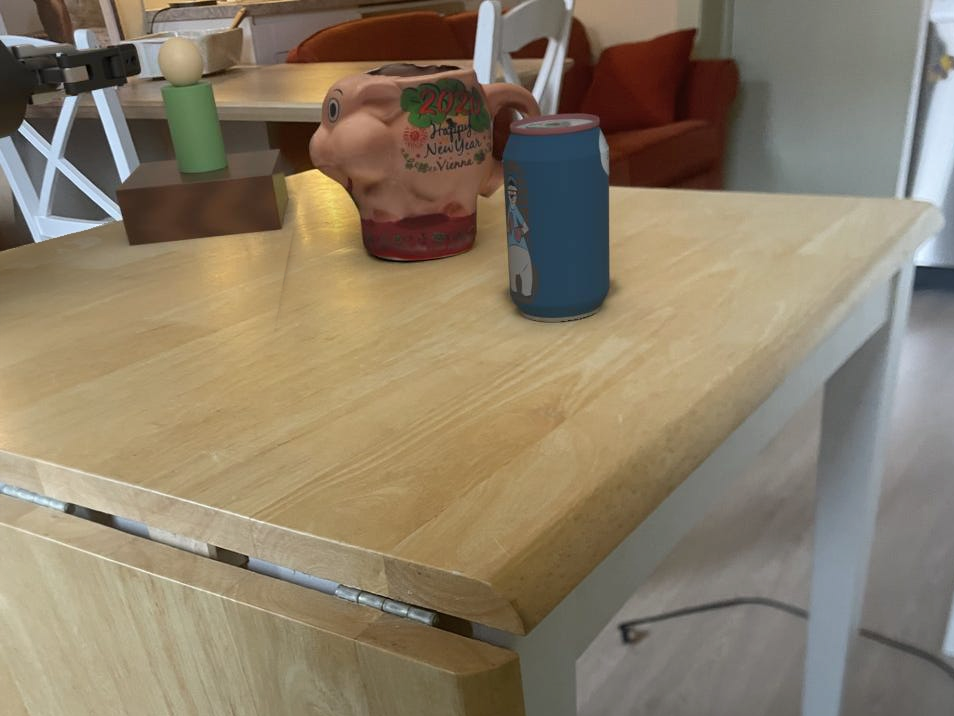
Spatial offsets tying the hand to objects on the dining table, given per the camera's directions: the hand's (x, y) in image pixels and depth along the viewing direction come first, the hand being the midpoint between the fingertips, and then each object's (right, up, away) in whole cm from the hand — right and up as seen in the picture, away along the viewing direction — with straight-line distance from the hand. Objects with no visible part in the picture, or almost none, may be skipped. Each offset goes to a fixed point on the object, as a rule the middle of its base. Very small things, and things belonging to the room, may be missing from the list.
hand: (94, 60), depth 83 cm
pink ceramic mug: (+28, -13, +6) cm, 32 cm away
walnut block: (+6, -8, +17) cm, 19 cm away
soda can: (+37, -24, -11) cm, 46 cm away
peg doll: (+5, -3, +13) cm, 15 cm away
